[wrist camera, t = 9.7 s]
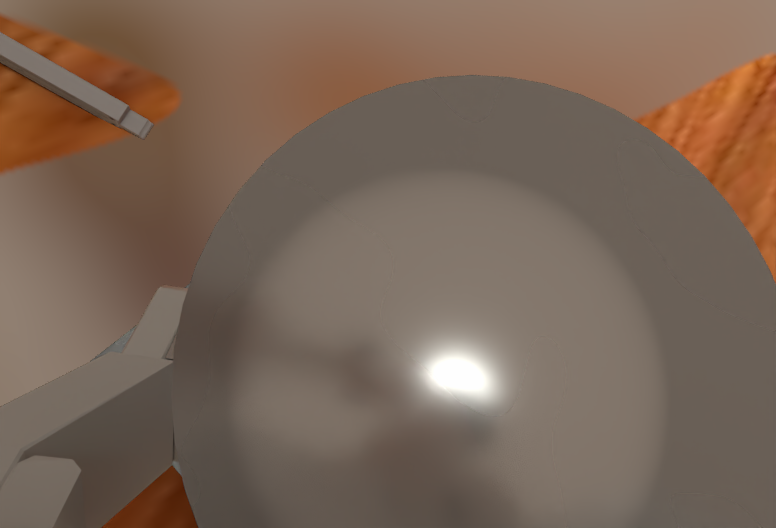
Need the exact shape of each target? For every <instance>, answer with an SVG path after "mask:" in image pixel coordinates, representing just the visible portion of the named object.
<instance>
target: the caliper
mask: <svg viewBox="0 0 776 528" xmlns="http://www.w3.org/2000/svg"><path fill="white" fill-rule="evenodd" d="M0 63H2V64H4V65H6V66H7V67H9V68H11V69H13V70H14V71H16V72H18V73H20V74H22V75H23V76H25V77H27V78H29V79H30V80H32V81H34V82H36V83H38V84H39V85H41V86H43V87H45V88H47V89H48V90H50V91H52V92H54V93H55V94H57V95H59V96H61V97H63V98H64V99H66V100H68V101H70V102H71V103H73V104H75V105H77V106H79V107H80V108H82V109H84V110H86V111H87V112H89V113H91V114H93V115H95V116H97V117H99V118H101V119H103V120H105V121H107V122H109V123H111V124H113V125H115V126H117V127H119V128H123V129H125V130H126V131H128V132H130V133H132V134H133V135H135V136H137V137H139V138H141V139H143V140H144V139H145V138H146V136H147V135H148V133H149V132H150V130H151V129H152V127H153V126H154V124H153V123H151V122H150V121H149V120H148V119H146V118H144V117H142V116H141V115H139V114H137V113H135V112H134V111H132V110H130V108H129V106H128V105H127V104H125V103H123V102H122V101H120V100H118V99H116V98H115V97H113V96H111V95H109V94H108V93H106V92H104V91H102V90H101V89H99V88H97V87H95V86H94V85H92V84H90V83H88V82H87V81H85V80H83V79H81V78H80V77H78V76H76V75H74V74H73V73H71V72H69V71H67V70H66V69H64V68H62V67H60V66H59V65H57V64H55V63H53V62H52V61H50V60H48V59H46V58H45V57H43V56H41V55H39V54H38V53H36V52H34V51H32V50H31V49H29V48H27V47H25V46H24V45H22V44H20V43H18V42H16V41H15V40H13V39H11V38H9V37H8V36H6V35H4V34H2V33H1V32H0Z"/></svg>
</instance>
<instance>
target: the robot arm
mask: <svg viewBox="0 0 776 528" xmlns="http://www.w3.org/2000/svg"><path fill="white" fill-rule="evenodd" d="M187 290H188V288H182V287H175V286H169V285H163V286H161V287H159V288H158V289H157V290H156V292H155V294H154V296H153V298H152V299H151V301H150V303H149V305H148V306H147V308H146V310H145V312H144V313H143V315H142V317H141V319H140V321H139V322H138V324H137V326H136V328H135V329H134V331H133V333H132V335H131V336H130V338H129V340H128V342H127V344H126V345H125V347H124V349H123V351H122V352H121V353H118V352H109V353H107V354H105V355H103V356H101V357H99V358H97V359H95V360H93V361H91V362H89V363H87V364H85V365H83V366H81V367H79V368H77V369H75V370H73V371H71V372H69V373H67V374H65V375H63V376H61V377H59V378H57V379H55V380H53V381H51V382H49V383H47V384H45V385H43V386H41V387H39V388H37V389H35V390H33V391H31V392H29V393H27V394H25V395H23V396H21V397H19V398H17V399H15V400H13V401H11V402H9V403H7V404H4V405H3V406H0V528H101V527H102V526H103V525H104V524H106V523H107V522H108V521H109V520H110V519H111V518H112V517H114V516H115V515H116V514H117V513H118V512H119V511H120V510H122V509H123V508H124V507H125V506H126V505H127V504H128V503H129V502H131V501H132V500H133V499H134V498H135V497H136V496H137V495H139V494H140V493H141V492H142V491H143V490H144V489H145V488H147V487H148V486H149V485H150V484H151V483H152V482H153V481H155V480H156V479H157V478H158V477H159V476H160V475H161V474H163V473H164V472H165V471H166V470H167V469H168V468H169V467H170V466H172V462H173V461H175V462H179V460H178V455H177V451H176V446H175V439H174V425H173V412H172V399H171V391H172V374H173V357H174V347H175V341H176V336H177V331H178V326H179V321H180V316H181V311H182V306H183V302H184V299H185V296H186V293H187Z"/></svg>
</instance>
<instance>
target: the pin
mask: <svg viewBox="0 0 776 528" xmlns="http://www.w3.org/2000/svg"><path fill="white" fill-rule="evenodd" d="M171 399H172V412H173V425H174V439H175V446H176V451H177V455H178V460H179V465H180V469H181V474H182V479H183V484H184V488H185V492H186V494H187V497H188V500H189V503H190V506H191V508H192V511H193V514H194V517H195V519H196V522H197V525H198V528H776V284H775V282H774V279H773V277H772V274H771V272H770V270H769V268H768V266H767V264H766V262H765V260H764V259H763V257H762V255H761V253H760V251H759V249H758V248H757V246H756V244H755V242H754V240H753V238H752V237H751V235H750V234H749V232H748V231H747V229H746V228H745V226H744V225H743V223H742V222H741V221H740V219H739V218H738V216H737V215H736V213H735V212H734V210H733V209H732V208H731V206H730V205H729V204H728V202H727V201H726V200H725V199H724V198H723V197H722V195H721V194H720V193H719V192H718V191H717V190H716V189H715V187H714V186H713V185H712V184H711V183H710V182H709V180H708V179H707V178H706V177H705V176H704V175H703V174H702V173H701V172H700V171H699V170H698V169H697V168H695V167H694V166H693V165H692V164H691V163H690V162H689V161H688V160H687V159H686V158H685V157H684V156H683V155H681V154H680V153H679V152H678V151H677V150H676V149H675V148H673V147H672V146H670V145H669V144H668V143H666V142H665V141H664V140H662V139H661V138H660V137H658V136H657V135H656V134H654V133H653V132H652V131H650V130H649V129H648V128H646V127H644V126H643V125H641V124H639V123H637V122H636V121H634V120H632V119H630V118H629V117H627V116H625V115H623V114H622V113H620V112H618V111H616V110H615V109H613V108H610V107H608V106H606V105H604V104H601V103H599V102H597V101H594V100H592V99H590V98H588V97H585V96H583V95H581V94H578V93H574V92H571V91H568V90H564V89H561V88H558V87H555V86H551V85H548V84H544V83H538V82H533V81H527V80H522V79H516V78H510V77H498V76H480V75H465V76H450V77H435V78H430V79H425V80H420V81H414V82H409V83H404V84H399V85H396V86H393V87H390V88H387V89H384V90H381V91H378V92H375V93H372V94H368V95H366V96H363V97H360V98H359V99H356V100H354V101H352V102H350V103H348V104H346V105H344V106H342V107H340V108H338V109H336V110H333V111H331V112H330V113H328V114H326V115H325V116H323V117H321V118H320V119H318V120H317V121H315V122H314V123H312V124H311V125H309V126H308V127H306V128H305V129H303V130H302V131H300V132H299V133H297V134H296V135H294V136H293V137H292V138H291V139H290V140H289V141H287V142H286V143H285V144H284V145H283V146H282V147H280V148H279V149H278V150H277V151H276V152H275V153H274V154H272V155H271V156H270V157H269V158H268V159H267V160H266V161H265V162H264V163H263V164H262V165H261V166H260V168H259V169H258V170H257V171H256V172H255V173H254V174H253V175H252V177H250V179H249V180H248V181H247V182H246V183H245V184H244V185H243V186H242V188H241V189H240V190H239V191H238V193H237V194H236V196H235V197H234V198H233V200H232V202H231V203H230V204H229V206H228V207H227V209H226V211H225V212H224V213H223V215H222V216H221V218H220V220H219V221H218V222H217V224H216V225H215V227H214V229H213V232H212V233H211V235H210V237H209V239H208V242H207V243H206V246H205V248H204V250H203V252H202V254H201V256H200V258H199V260H198V262H197V264H196V267H195V270H194V273H193V276H192V279H191V282H190V285H189V288H188V290H187V293H186V296H185V299H184V302H183V306H182V311H181V316H180V321H179V326H178V331H177V336H176V341H175V347H174V357H173V374H172V391H171Z"/></svg>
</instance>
